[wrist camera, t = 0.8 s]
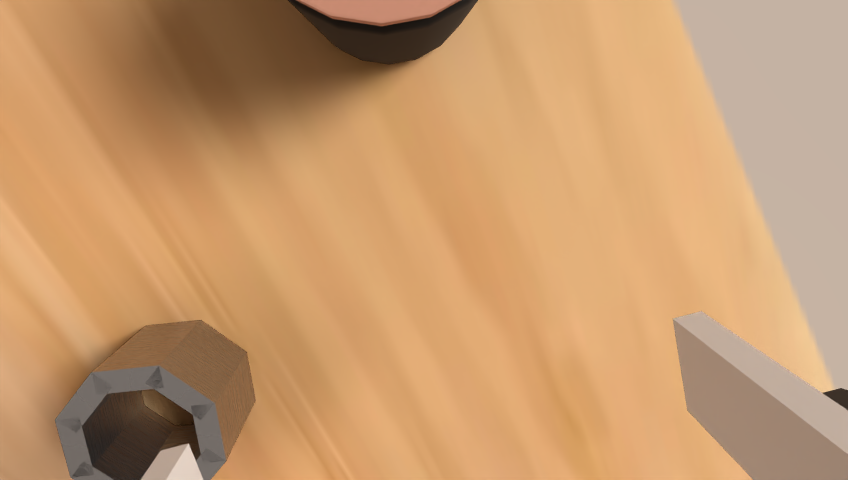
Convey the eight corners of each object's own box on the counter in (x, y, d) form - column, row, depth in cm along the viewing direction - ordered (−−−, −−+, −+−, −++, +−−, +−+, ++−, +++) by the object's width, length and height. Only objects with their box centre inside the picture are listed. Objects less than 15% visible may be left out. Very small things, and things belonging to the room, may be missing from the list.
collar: (93, 393, 40) (30, 452, 33) (167, 296, 38) (117, 337, 31) (202, 464, 41) (164, 534, 34) (277, 374, 40) (253, 428, 33)
